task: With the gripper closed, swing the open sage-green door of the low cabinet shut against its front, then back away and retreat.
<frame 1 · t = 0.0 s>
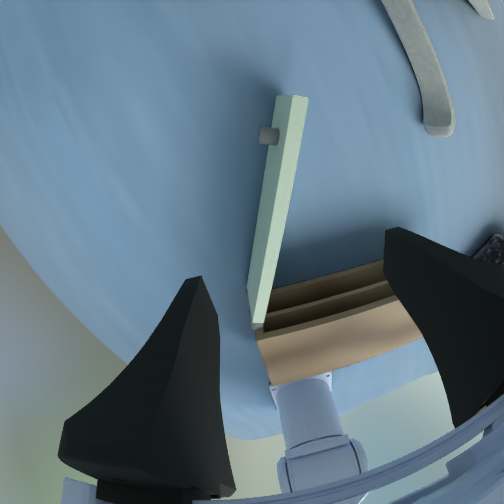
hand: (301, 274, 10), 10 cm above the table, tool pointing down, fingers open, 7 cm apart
cabinet: (339, 300, 25), on the table
door: (262, 219, 17), point 3 cm above the table, hinge at 70.0°
crystal cluster: (479, 273, 27), on the table
door handle: (438, 26, 12), on the table
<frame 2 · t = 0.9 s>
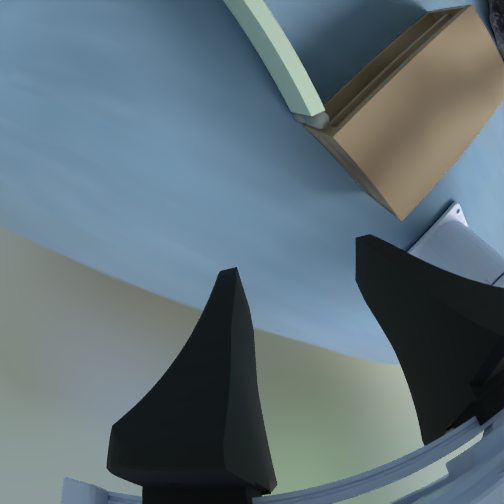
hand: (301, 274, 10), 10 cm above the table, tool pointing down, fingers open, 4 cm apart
cabinet: (404, 91, 15), on the table
door: (239, 13, 10), point 2 cm above the table, hinge at 70.0°
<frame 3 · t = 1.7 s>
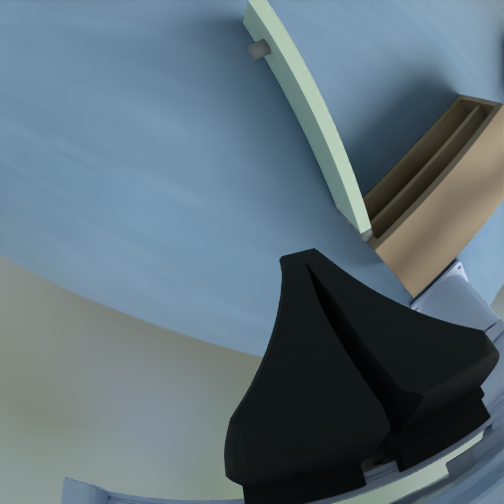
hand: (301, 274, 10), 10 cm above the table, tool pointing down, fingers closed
cabinet: (428, 178, 19), on the table
door: (307, 125, 14), point 2 cm above the table, hinge at 70.0°
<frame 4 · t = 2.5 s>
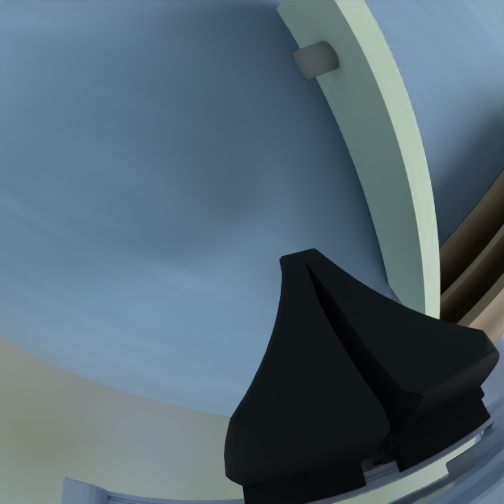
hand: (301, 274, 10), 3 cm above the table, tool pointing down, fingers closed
cabinet: (487, 235, 14), on the table
door: (382, 196, 9), point 3 cm above the table, hinge at 70.0°
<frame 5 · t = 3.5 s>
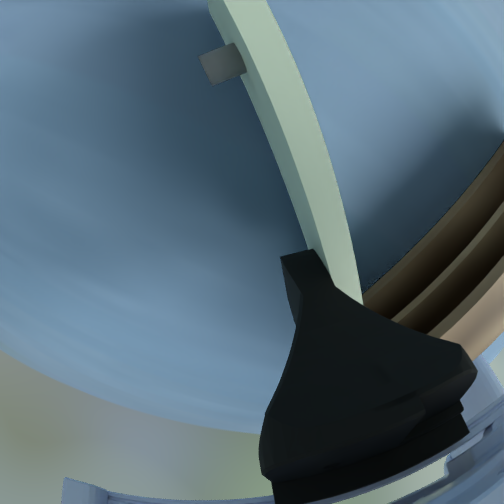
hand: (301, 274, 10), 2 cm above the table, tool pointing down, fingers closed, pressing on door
cabinet: (455, 254, 14), on the table
door: (300, 215, 9), point 2 cm above the table, hinge at 64.1°, touching gripper
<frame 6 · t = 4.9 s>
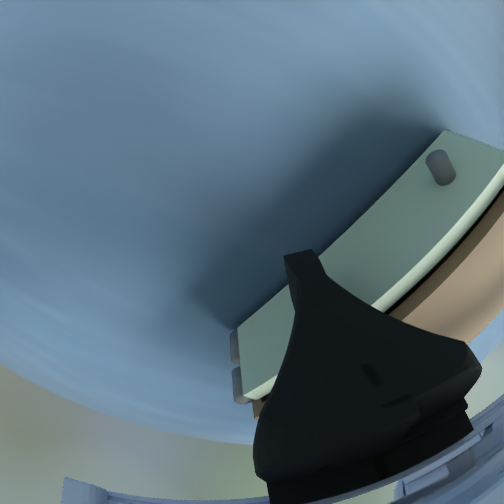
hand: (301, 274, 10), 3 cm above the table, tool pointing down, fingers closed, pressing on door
cabinet: (386, 276, 14), on the table
door: (354, 263, 10), point 2 cm above the table, hinge at -0.7°, touching gripper
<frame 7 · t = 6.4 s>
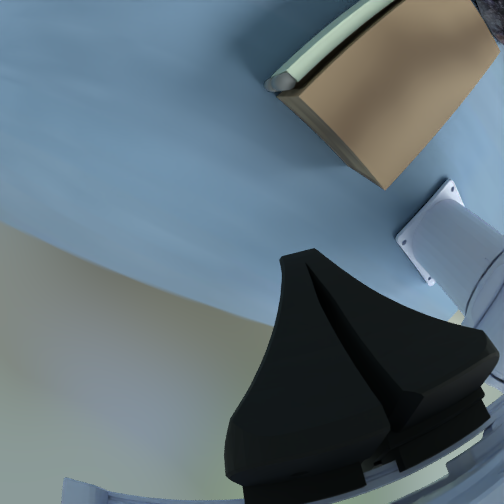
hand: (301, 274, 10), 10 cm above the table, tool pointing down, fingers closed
cabinet: (385, 61, 14), on the table
door: (352, 7, 10), point 2 cm above the table, hinge at -0.7°
crystal cluster: (496, 3, 9), on the table
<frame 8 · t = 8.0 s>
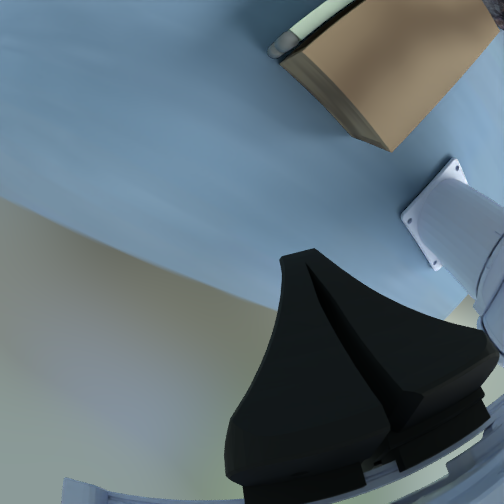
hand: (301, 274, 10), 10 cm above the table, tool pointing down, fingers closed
cabinet: (387, 36, 13), on the table
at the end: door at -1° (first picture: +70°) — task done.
